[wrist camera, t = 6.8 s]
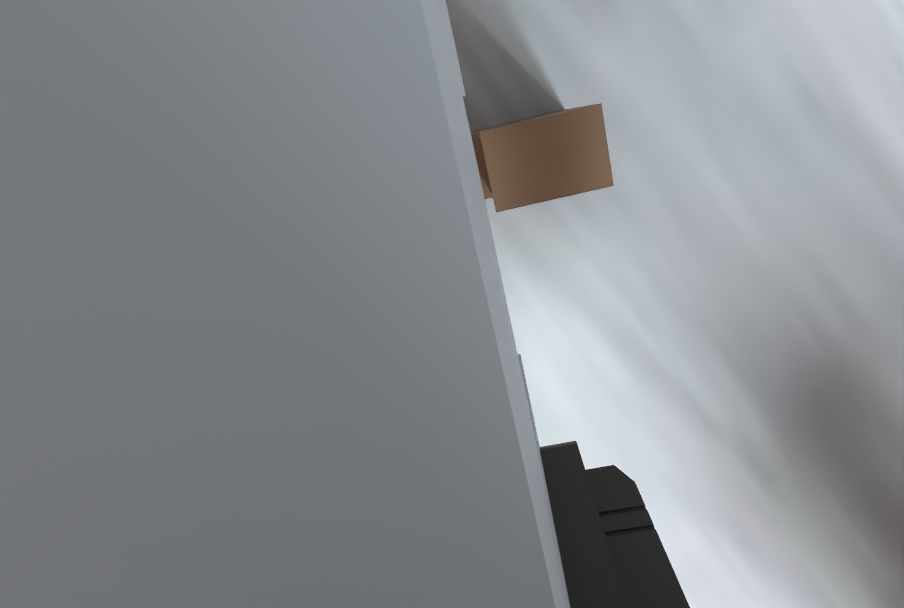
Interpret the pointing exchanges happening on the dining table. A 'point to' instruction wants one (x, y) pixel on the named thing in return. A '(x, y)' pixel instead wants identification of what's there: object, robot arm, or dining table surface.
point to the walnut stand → (543, 157)
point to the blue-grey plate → (255, 316)
